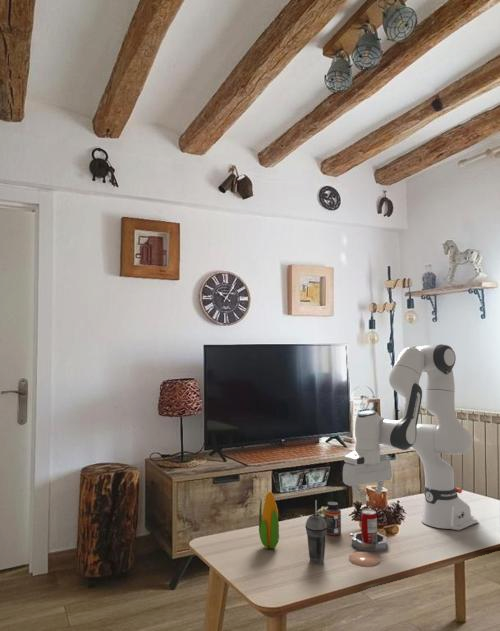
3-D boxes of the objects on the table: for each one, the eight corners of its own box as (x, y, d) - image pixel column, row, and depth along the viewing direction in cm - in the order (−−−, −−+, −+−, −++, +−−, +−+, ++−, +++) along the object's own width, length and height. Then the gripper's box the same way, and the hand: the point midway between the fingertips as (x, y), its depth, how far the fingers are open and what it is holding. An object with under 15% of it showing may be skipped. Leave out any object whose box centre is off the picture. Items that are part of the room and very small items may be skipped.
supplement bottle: (340, 536, 190) (340, 506, 191) (324, 535, 191) (324, 505, 192) (341, 530, 196) (340, 501, 197) (325, 529, 197) (325, 500, 198)
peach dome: (365, 551, 177) (365, 549, 177) (385, 562, 168) (385, 560, 168) (342, 557, 172) (342, 555, 172) (362, 568, 163) (362, 567, 163)
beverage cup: (305, 566, 166) (304, 504, 166) (306, 557, 173) (305, 497, 174) (328, 567, 165) (327, 505, 166) (327, 558, 172) (326, 498, 173)
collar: (371, 536, 191) (371, 527, 191) (393, 547, 180) (393, 538, 180) (343, 542, 185) (343, 533, 185) (365, 554, 174) (365, 545, 174)
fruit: (321, 525, 207) (323, 504, 210) (339, 530, 201) (342, 508, 203) (306, 523, 202) (309, 502, 204) (325, 527, 195) (328, 506, 198)
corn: (264, 554, 175) (264, 496, 176) (255, 546, 182) (255, 490, 183) (284, 551, 178) (283, 493, 179) (274, 543, 185) (273, 487, 186)
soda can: (364, 540, 186) (364, 507, 187) (379, 543, 184) (378, 509, 184) (359, 545, 182) (358, 511, 182) (374, 549, 179) (373, 514, 179)
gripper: (383, 452, 192) (384, 489, 191) (339, 457, 182) (340, 496, 182) (395, 455, 186) (396, 493, 185) (351, 460, 177) (351, 501, 176)
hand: (368, 495), depth 183 cm, fingers open, 8 cm apart
